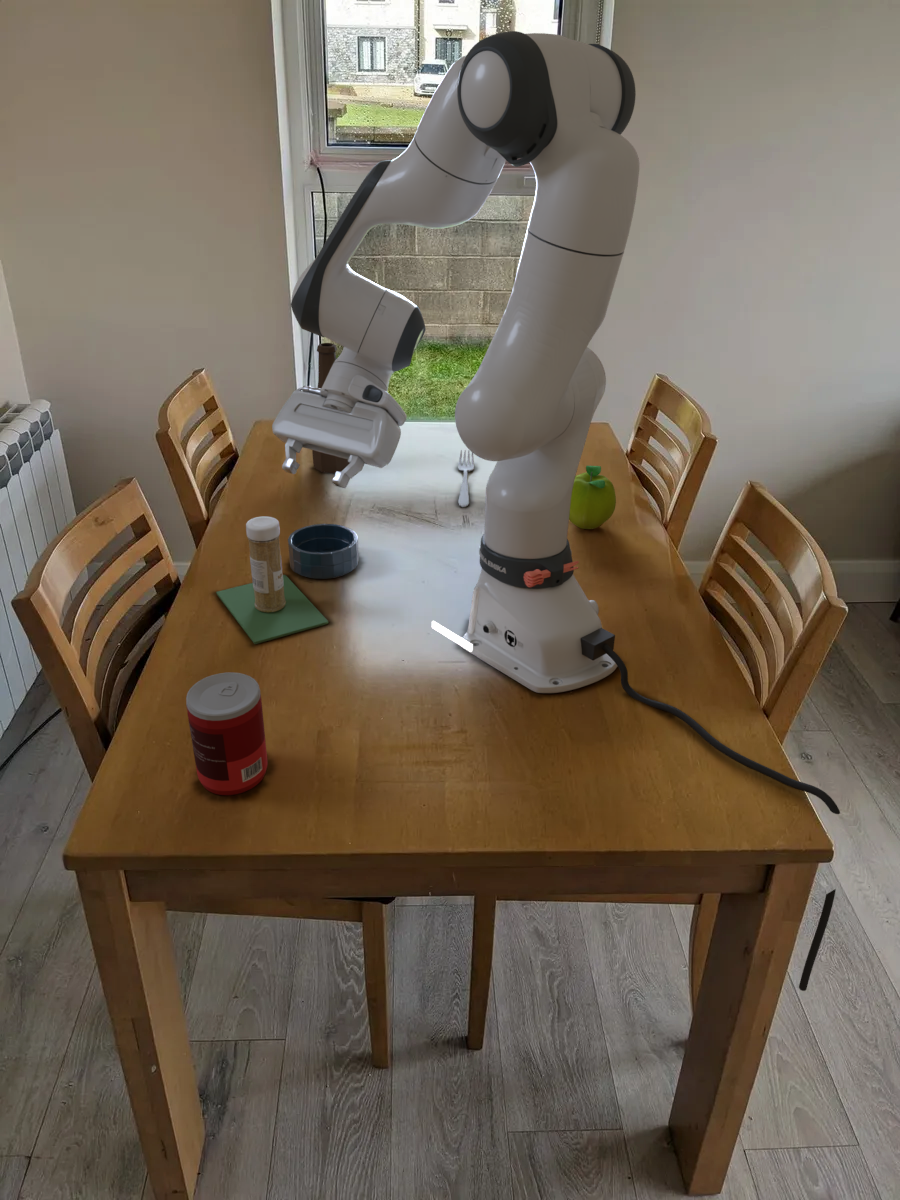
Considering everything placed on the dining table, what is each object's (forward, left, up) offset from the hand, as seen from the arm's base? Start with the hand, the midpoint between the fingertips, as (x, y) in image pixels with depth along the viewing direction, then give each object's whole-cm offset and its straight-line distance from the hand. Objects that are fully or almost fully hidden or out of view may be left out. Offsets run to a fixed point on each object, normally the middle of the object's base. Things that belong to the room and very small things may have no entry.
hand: (312, 478), depth 134 cm
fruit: (-5, -48, -17) cm, 51 cm away
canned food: (-37, +27, -17) cm, 48 cm away
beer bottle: (+41, -21, -17) cm, 50 cm away
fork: (+22, -40, -17) cm, 49 cm away
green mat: (-5, +10, -17) cm, 20 cm away
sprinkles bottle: (-5, +10, -16) cm, 20 cm away
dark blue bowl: (+4, -3, -17) cm, 18 cm away
